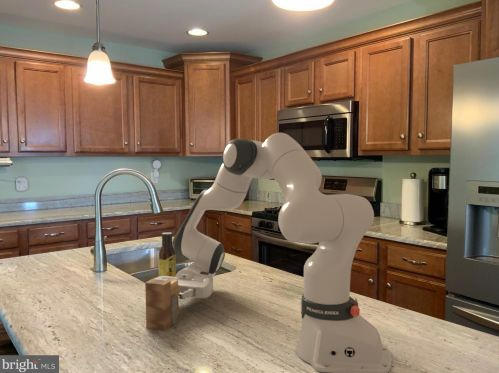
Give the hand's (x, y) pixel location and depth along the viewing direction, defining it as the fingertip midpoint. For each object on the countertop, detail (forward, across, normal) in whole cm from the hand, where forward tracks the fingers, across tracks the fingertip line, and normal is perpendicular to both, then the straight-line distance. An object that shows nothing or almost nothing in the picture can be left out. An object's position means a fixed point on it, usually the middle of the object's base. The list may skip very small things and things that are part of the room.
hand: (168, 295), depth 118 cm
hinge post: (+4, 0, +7) cm, 8 cm away
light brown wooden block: (0, 0, +7) cm, 7 cm away
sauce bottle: (-27, -15, +7) cm, 32 cm away
